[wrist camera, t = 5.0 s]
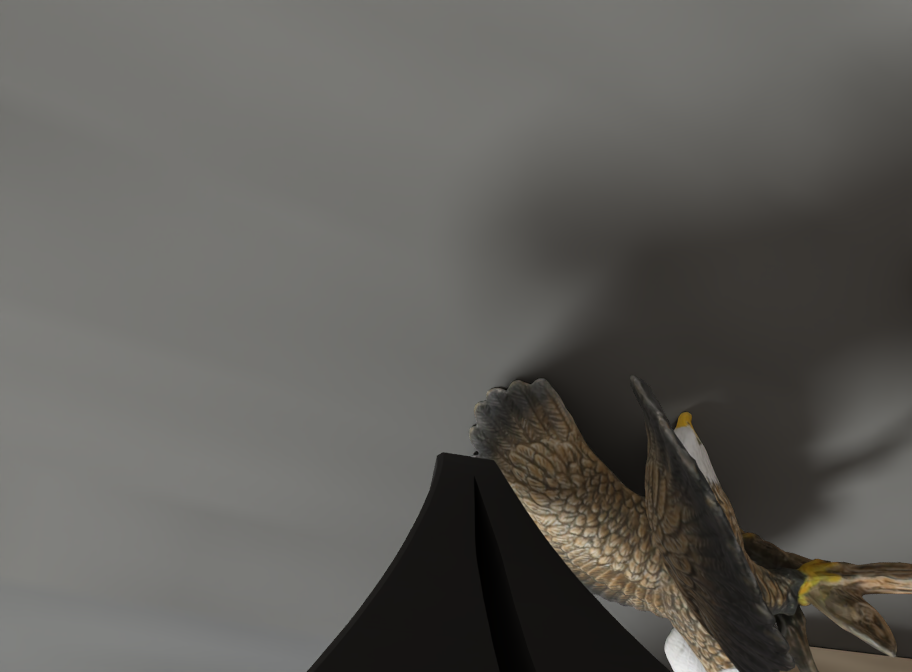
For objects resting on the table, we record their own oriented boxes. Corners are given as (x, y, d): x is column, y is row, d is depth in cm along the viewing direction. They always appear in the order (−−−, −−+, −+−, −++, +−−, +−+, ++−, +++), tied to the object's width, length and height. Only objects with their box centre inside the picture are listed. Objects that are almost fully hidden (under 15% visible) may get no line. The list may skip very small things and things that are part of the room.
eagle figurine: (903, 408, 11) (643, 252, 8) (1147, 835, 6) (792, 891, 3) (649, 479, 16) (439, 407, 13) (692, 735, 12) (399, 719, 9)
